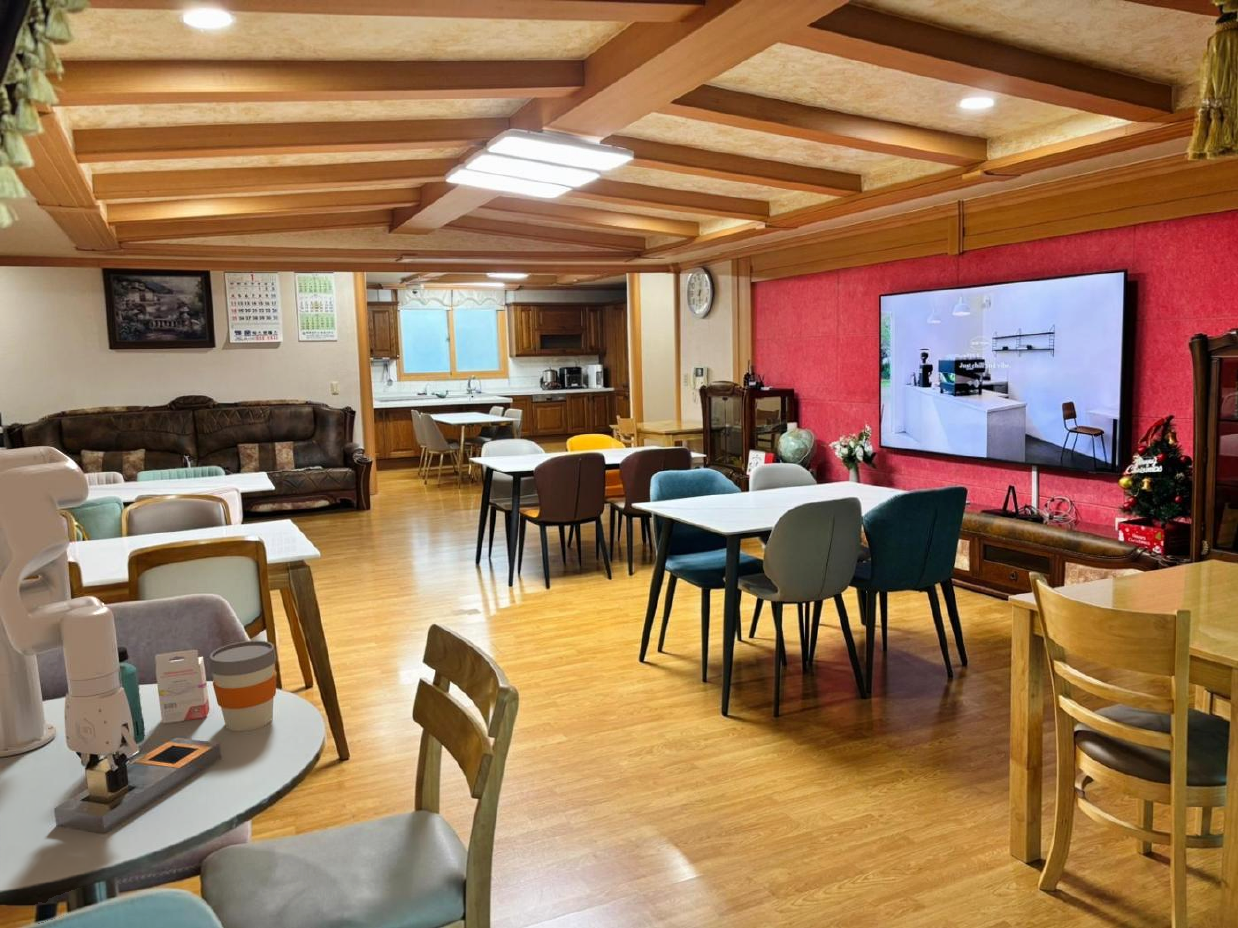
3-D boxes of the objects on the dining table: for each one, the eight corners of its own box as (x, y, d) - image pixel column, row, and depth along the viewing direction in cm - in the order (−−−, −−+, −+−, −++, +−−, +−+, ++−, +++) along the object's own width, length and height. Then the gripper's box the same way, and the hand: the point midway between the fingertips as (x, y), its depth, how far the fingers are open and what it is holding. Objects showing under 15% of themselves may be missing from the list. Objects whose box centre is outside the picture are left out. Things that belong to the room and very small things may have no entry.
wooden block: (91, 814, 148) (85, 769, 147) (111, 802, 152) (106, 758, 151) (110, 818, 147) (104, 772, 146) (130, 805, 151) (124, 761, 149)
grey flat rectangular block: (56, 825, 145) (53, 807, 145) (177, 752, 170) (176, 736, 169) (104, 833, 142) (102, 815, 142) (221, 757, 167) (219, 742, 166)
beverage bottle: (130, 757, 168) (117, 656, 165) (99, 755, 170) (86, 654, 167) (154, 742, 175) (143, 643, 172) (125, 740, 176) (113, 642, 173)
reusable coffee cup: (280, 728, 179) (273, 656, 176) (212, 739, 175) (204, 666, 173) (283, 704, 190) (277, 636, 188) (219, 713, 187) (212, 645, 185)
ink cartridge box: (210, 708, 190) (203, 642, 188) (206, 717, 185) (199, 649, 183) (165, 714, 187) (158, 647, 185) (161, 724, 183) (153, 655, 180)
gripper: (35, 687, 145) (49, 792, 148) (116, 696, 140) (130, 804, 143) (75, 669, 152) (88, 770, 155) (154, 677, 147) (166, 781, 150)
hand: (108, 785), depth 149 cm, fingers closed on wooden block, 4 cm apart
